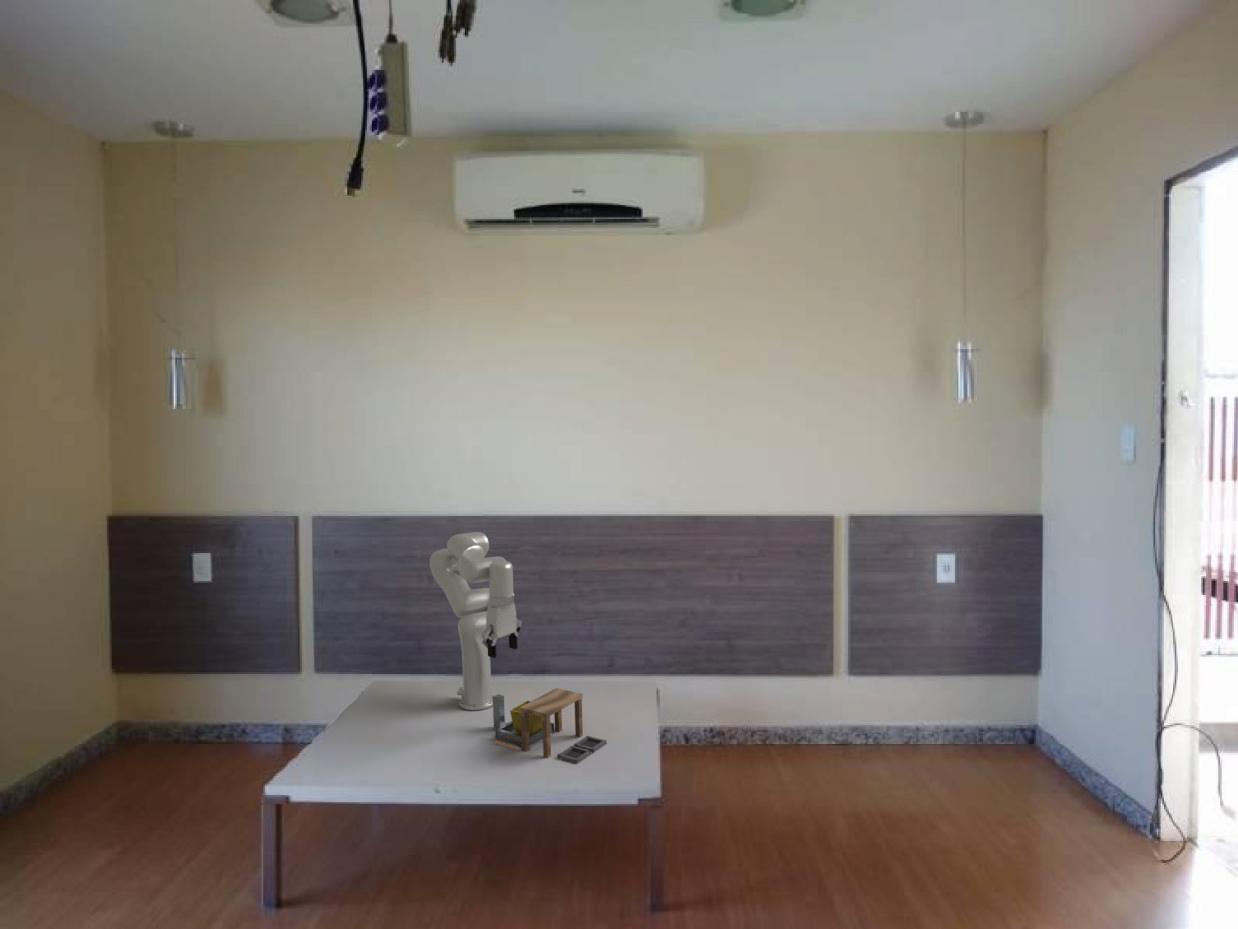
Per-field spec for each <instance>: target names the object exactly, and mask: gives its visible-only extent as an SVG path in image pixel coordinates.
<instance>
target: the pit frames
mask: <svg viewBox="0 0 1238 929" xmlns="http://www.w3.org/2000/svg"><path fill="white" fill-rule="evenodd" d="M605 745H607V740H606V739H602V738H599V737H594V736H590V735H586V736H585V737H583V738H581V739H580V740H578V741H577V742H576V743H574V744H573V745H571V746H569V747H567V748H566V749H565V750H563V751H562V752H560V753H559V754H557V759H560V760H563V761H567V762H570V763H573V764H577V765H578V764H579V763H581V762H582V761H583V760H586V758H588V757H590V756H591V755H592V753H595V752H597V751H598V750H600V749H601V748H603V747H604V746H605Z"/></svg>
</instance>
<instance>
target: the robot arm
mask: <svg viewBox="0 0 1238 929" xmlns="http://www.w3.org/2000/svg"><path fill="white" fill-rule="evenodd" d="M488 538H489V537H488V536H487V535H486V534H485V533H483V532H480V531H472V532H465V533H457V534H455V535H452V536H451V537H450V538H449V539H448V541H447V542H446V548H441V549H440V550H439V549H438V550H436V551H434V553H432V554H431V555H430V558H429V567H430V571H431V575H432V577H433V579H434V580H435V582H436V583H437V584H438V586H439V587H440V588H441V589H442V591H443V592H444V594H445V596H446V598H447V600H448V603H449V605H450V607H451V609H452V611H453V613H454V614H455V615H456V617H457V618H460V619H459V621H458V623H457V630H458V635H459V640H460V647H461V661H462V662H461V665H462V686H461V687H459V688H458V690H457V691H456V695H458V696H461V699H460V700H459V707H460V708H461V709H462V710H463V709H464V710H466V711H480V710H481V711H482V710H486V709H489V708H491V707H492V708H493V696H494V695H492V677H491V676H492V674H491V673H492V672H491V671H492V670H491V658H494V659H496V658H497V655H498V654H497V645H496V643H497V641H498V639H500V638H503V637H506V636H508V635H509V636H508V647H509V649H513V650H517V649H518V637H519V635H520V634H519V633H520V631H521V626H522V624H523V621H522V620H521V619H518V617H517V610H516V605H515V602H514V597H515V593H514V570H513V569H514V568H513V563H511V561H507V560H506V559H505V558H504V557H503V556H489V557H486V555H487V554H488V552H489V550H490V542H489V539H488ZM456 571H458V573H459V574H458V573H456ZM488 581H489V583H488V584H489V587H482V588H481V587H480V588H475V589H473V588H471V587H470V586H469V583H470V584H477V583H483V582H488ZM484 643H485V644H484ZM486 645H487V646H486Z"/></svg>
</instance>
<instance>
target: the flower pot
mask: <svg viewBox="0 0 1238 929" xmlns="http://www.w3.org/2000/svg"><path fill="white" fill-rule="evenodd" d="M531 701H532V700H525V701H523V702H521V703H519V705H516V706H515V707H513V708H511V709H510V710H509V711H510V717H511V721H512V723H513V726H514V729H515V732H516V734H520V735H522V732H521V711H520V707H521V706H523V705H525V704H527V703H529V702H531ZM541 728H542V717H541V716H537V715H533V714H529V735H530V734H532V733H534V732H535V731H537V730H539V729H541Z"/></svg>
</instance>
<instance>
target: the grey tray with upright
mask: <svg viewBox="0 0 1238 929" xmlns="http://www.w3.org/2000/svg"><path fill="white" fill-rule="evenodd" d="M505 714H506V713H505V696H504V694H496V695H493V706H492V716H493V717H492V719H493V728H494V733H495V734H494V736H495V739H499V740H501V741H506V742H510V743H513V744H516V745H520V746H522V735H520V734H517V732H516V733H515V732H513V731H514V730H515V729H514V726H513V723H512V720H511V721H509V722H506V720H505V718H506V716H505ZM554 727H555V722H551V721H550V734H551V733H554V732H555V729H554ZM540 740H543V730H542V728H541V729H539V730H537V731H535V732H534V733H532V734H530V735H529V742H530V746H532V745H533V744H534V743H536V742H538V741H540Z"/></svg>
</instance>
